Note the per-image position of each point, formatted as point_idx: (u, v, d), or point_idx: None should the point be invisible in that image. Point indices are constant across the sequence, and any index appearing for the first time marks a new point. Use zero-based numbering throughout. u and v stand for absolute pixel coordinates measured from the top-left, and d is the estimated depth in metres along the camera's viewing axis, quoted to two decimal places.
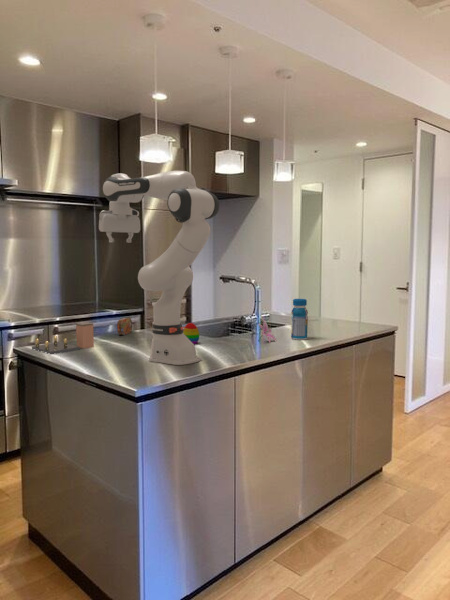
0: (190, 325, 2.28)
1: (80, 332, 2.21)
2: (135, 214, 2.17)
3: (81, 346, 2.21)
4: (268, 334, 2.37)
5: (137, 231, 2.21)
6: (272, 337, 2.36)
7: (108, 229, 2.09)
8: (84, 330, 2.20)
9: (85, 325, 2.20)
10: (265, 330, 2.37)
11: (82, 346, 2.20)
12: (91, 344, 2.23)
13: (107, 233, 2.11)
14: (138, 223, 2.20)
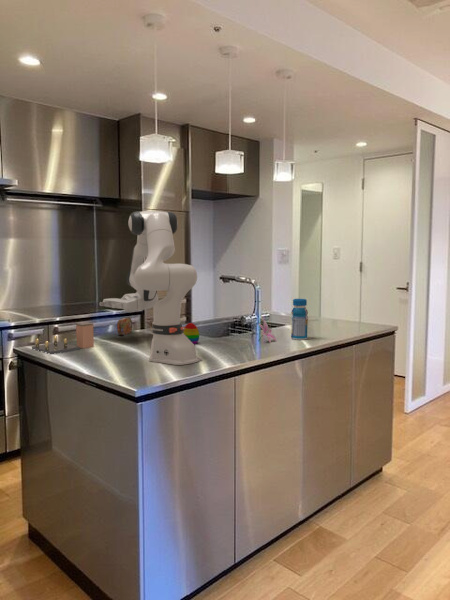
0: (190, 325, 2.28)
1: (80, 332, 2.21)
2: (135, 297, 2.36)
3: (81, 346, 2.21)
4: (268, 334, 2.37)
5: (125, 301, 2.29)
6: (272, 337, 2.36)
7: (106, 299, 2.40)
8: (84, 330, 2.20)
9: (85, 325, 2.20)
10: (265, 330, 2.37)
11: (82, 346, 2.20)
12: (91, 344, 2.23)
13: None
14: (132, 300, 2.31)
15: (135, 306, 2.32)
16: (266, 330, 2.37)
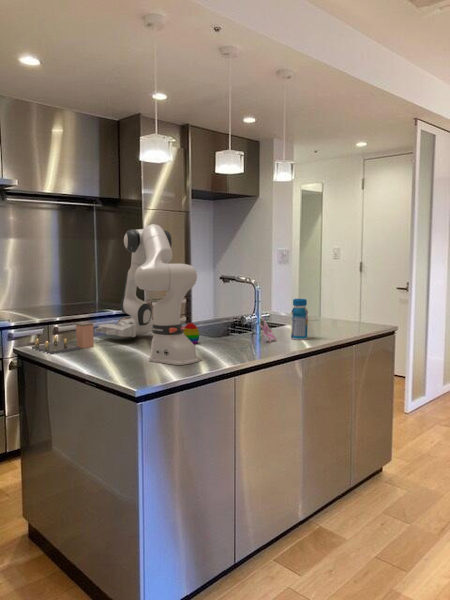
0: (190, 325, 2.28)
1: (80, 332, 2.21)
2: (130, 323, 2.34)
3: (81, 346, 2.21)
4: (269, 334, 2.37)
5: (120, 328, 2.28)
6: (273, 337, 2.36)
7: (102, 325, 2.38)
8: (84, 330, 2.20)
9: (85, 325, 2.20)
10: (266, 330, 2.37)
11: (82, 346, 2.20)
12: (91, 344, 2.23)
13: None
14: (127, 327, 2.30)
15: (130, 333, 2.31)
16: (266, 330, 2.37)
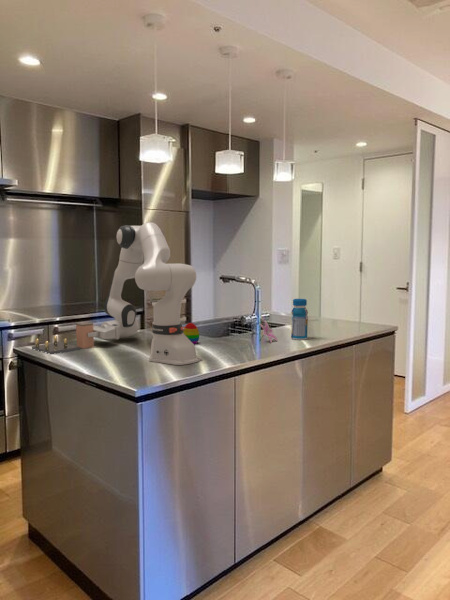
0: (190, 325, 2.28)
1: (80, 332, 2.21)
2: (114, 325, 2.27)
3: (81, 346, 2.21)
4: (269, 334, 2.37)
5: (103, 331, 2.21)
6: (273, 337, 2.36)
7: None
8: (84, 330, 2.20)
9: (85, 325, 2.20)
10: (266, 330, 2.37)
11: (82, 346, 2.20)
12: (91, 344, 2.23)
13: None
14: (110, 329, 2.23)
15: (113, 335, 2.24)
16: (267, 330, 2.37)
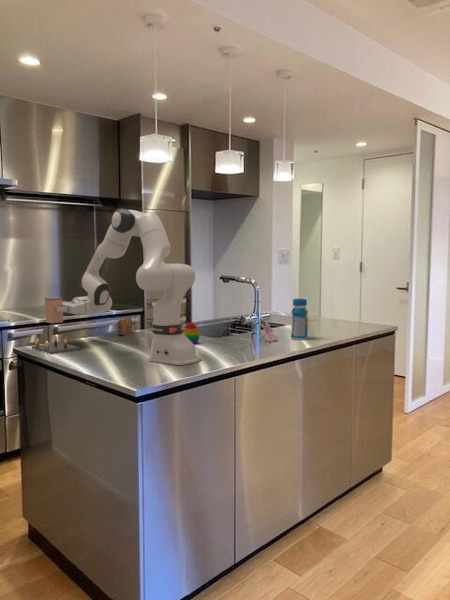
0: (190, 325, 2.28)
1: (48, 307, 2.16)
2: (84, 300, 2.22)
3: (50, 321, 2.16)
4: (270, 334, 2.37)
5: (72, 305, 2.15)
6: (274, 337, 2.36)
7: None
8: (52, 304, 2.15)
9: (54, 299, 2.15)
10: (267, 330, 2.37)
11: (51, 321, 2.15)
12: (60, 319, 2.18)
13: None
14: (79, 304, 2.18)
15: (83, 310, 2.18)
16: (268, 330, 2.37)
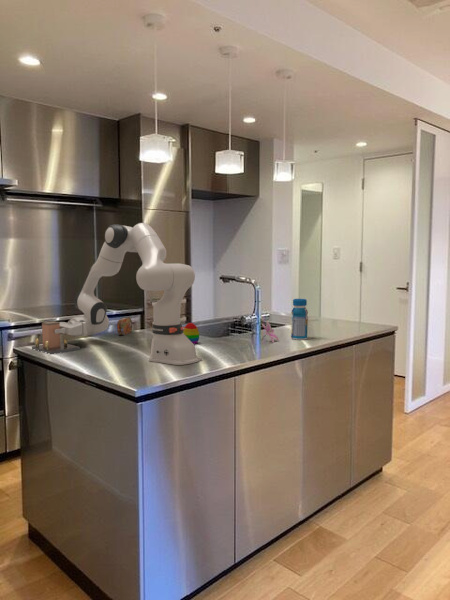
0: (190, 325, 2.28)
1: (45, 332, 2.16)
2: (81, 321, 2.22)
3: None
4: (271, 334, 2.37)
5: (69, 327, 2.15)
6: (275, 337, 2.36)
7: None
8: (50, 329, 2.15)
9: (51, 324, 2.15)
10: (268, 330, 2.37)
11: None
12: (57, 343, 2.18)
13: None
14: (76, 325, 2.18)
15: (80, 331, 2.18)
16: (269, 330, 2.38)
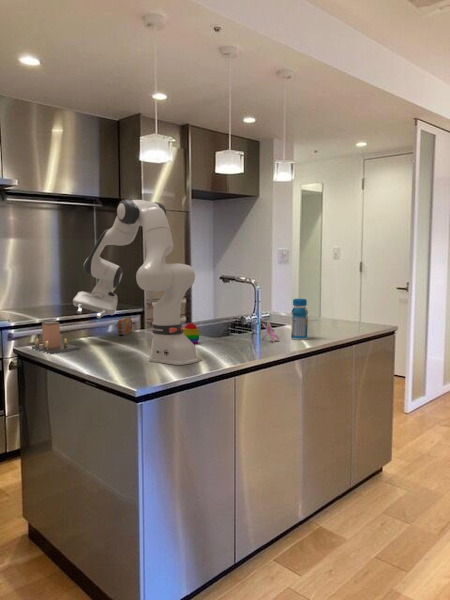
0: (190, 325, 2.28)
1: (45, 332, 2.16)
2: (111, 295, 2.29)
3: None
4: (272, 334, 2.37)
5: (109, 309, 2.25)
6: (276, 337, 2.36)
7: (78, 300, 2.26)
8: (50, 329, 2.15)
9: (51, 324, 2.15)
10: (269, 330, 2.37)
11: None
12: (57, 343, 2.18)
13: None
14: (113, 303, 2.27)
15: (116, 306, 2.30)
16: (269, 330, 2.38)
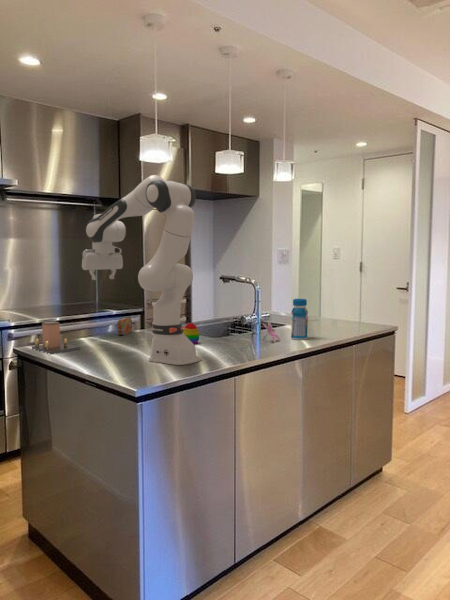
0: (190, 325, 2.28)
1: (45, 332, 2.16)
2: (117, 252, 2.25)
3: None
4: (272, 334, 2.37)
5: (120, 267, 2.28)
6: (276, 337, 2.37)
7: (91, 268, 2.17)
8: (50, 329, 2.15)
9: (51, 324, 2.15)
10: (269, 330, 2.37)
11: None
12: (57, 343, 2.18)
13: (90, 271, 2.19)
14: (121, 260, 2.28)
15: None
16: (270, 330, 2.38)
